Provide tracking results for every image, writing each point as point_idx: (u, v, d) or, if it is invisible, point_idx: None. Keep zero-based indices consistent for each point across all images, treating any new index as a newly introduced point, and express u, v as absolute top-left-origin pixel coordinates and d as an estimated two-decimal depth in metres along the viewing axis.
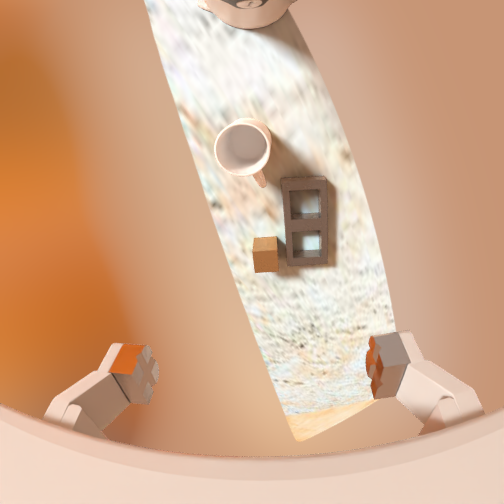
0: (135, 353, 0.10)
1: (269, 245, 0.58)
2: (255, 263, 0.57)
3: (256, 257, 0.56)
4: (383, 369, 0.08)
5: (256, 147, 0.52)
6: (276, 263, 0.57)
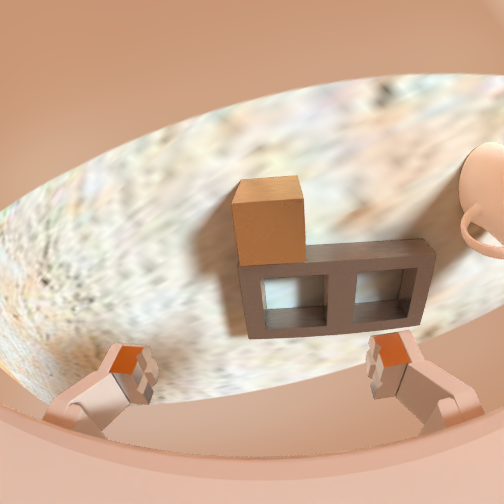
0: (135, 353, 0.10)
1: None
2: (263, 205, 0.19)
3: (283, 209, 0.19)
4: (383, 369, 0.08)
5: None
6: (264, 260, 0.21)
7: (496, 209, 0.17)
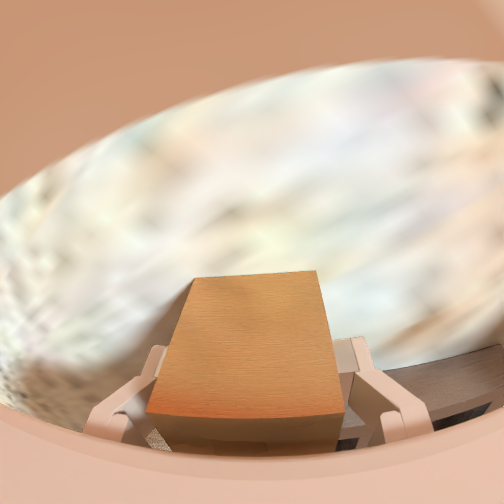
0: None
1: None
2: (231, 424, 0.06)
3: (286, 430, 0.06)
4: None
5: None
6: None
7: None
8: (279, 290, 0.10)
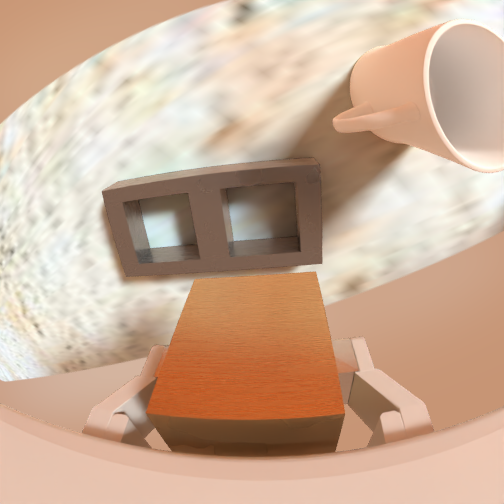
0: None
1: None
2: (231, 425, 0.06)
3: (286, 432, 0.06)
4: None
5: None
6: None
7: (378, 91, 0.15)
8: (279, 291, 0.10)
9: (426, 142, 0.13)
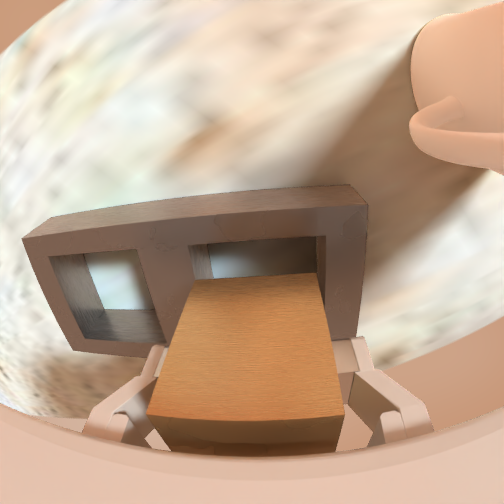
0: None
1: None
2: (231, 426, 0.06)
3: (286, 432, 0.06)
4: None
5: None
6: None
7: (490, 81, 0.06)
8: (279, 292, 0.10)
9: None
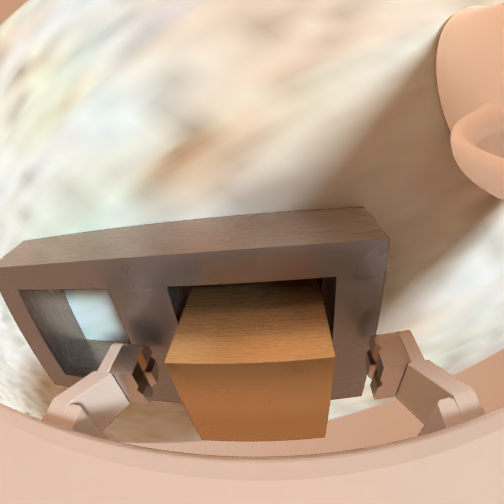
0: (135, 353, 0.10)
1: None
2: (238, 370, 0.08)
3: (285, 376, 0.08)
4: (383, 369, 0.08)
5: None
6: (247, 438, 0.09)
7: None
8: None
9: None
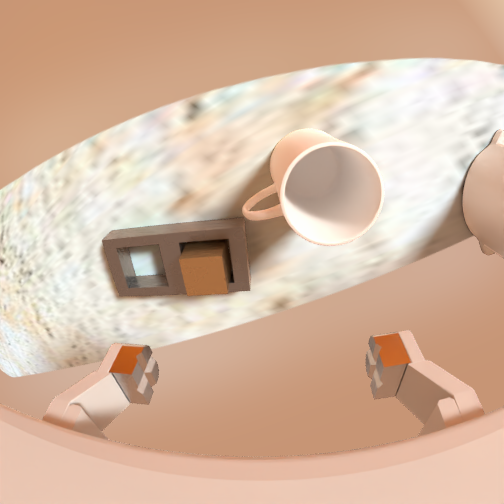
0: (135, 353, 0.10)
1: (227, 272, 0.34)
2: (198, 260, 0.31)
3: (210, 262, 0.31)
4: (383, 369, 0.08)
5: (298, 181, 0.32)
6: (202, 292, 0.32)
7: (275, 183, 0.27)
8: None
9: None
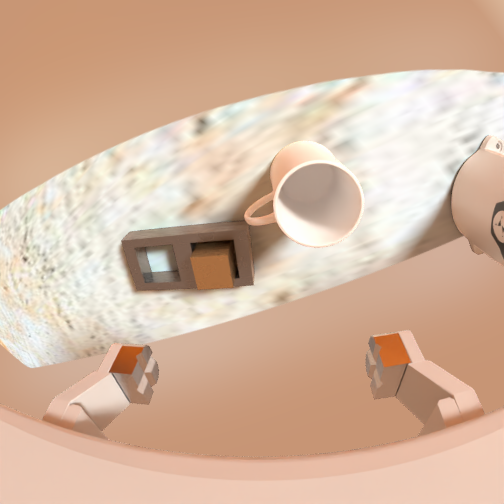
0: (135, 353, 0.10)
1: (233, 268, 0.38)
2: (206, 258, 0.35)
3: (217, 260, 0.35)
4: (383, 369, 0.08)
5: (295, 188, 0.36)
6: (210, 287, 0.37)
7: None
8: None
9: None
